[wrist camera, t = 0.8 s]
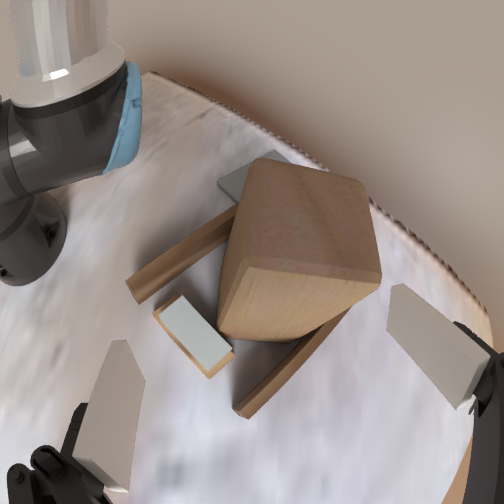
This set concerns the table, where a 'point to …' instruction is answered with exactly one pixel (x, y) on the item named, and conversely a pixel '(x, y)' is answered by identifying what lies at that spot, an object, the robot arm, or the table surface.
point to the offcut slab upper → (195, 333)
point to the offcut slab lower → (209, 373)
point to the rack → (190, 253)
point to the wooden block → (295, 253)
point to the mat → (243, 177)
